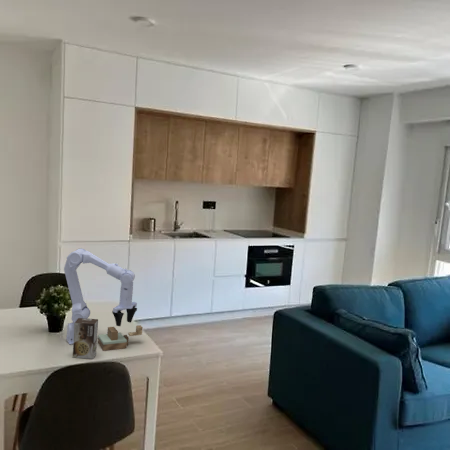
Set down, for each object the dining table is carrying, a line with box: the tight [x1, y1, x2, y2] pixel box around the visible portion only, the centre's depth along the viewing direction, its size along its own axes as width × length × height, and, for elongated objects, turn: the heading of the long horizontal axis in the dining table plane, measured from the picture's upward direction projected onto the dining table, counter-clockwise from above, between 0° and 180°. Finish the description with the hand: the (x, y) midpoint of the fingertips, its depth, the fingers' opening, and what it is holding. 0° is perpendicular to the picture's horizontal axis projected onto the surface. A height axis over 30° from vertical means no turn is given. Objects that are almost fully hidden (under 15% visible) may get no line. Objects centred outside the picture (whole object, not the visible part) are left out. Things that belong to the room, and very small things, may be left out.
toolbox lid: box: [97, 326, 127, 345], centre depth 213 cm, size 11×10×5 cm
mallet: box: [127, 324, 143, 337], centre depth 218 cm, size 6×3×4 cm, turn 119°
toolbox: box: [97, 334, 130, 351], centre depth 213 cm, size 13×10×4 cm
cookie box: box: [72, 318, 99, 360], centre depth 198 cm, size 9×6×16 cm
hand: (123, 323), depth 215 cm, fingers open, 7 cm apart
